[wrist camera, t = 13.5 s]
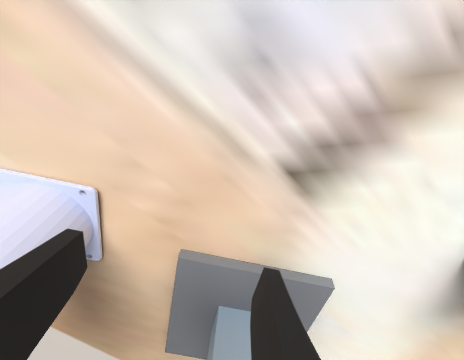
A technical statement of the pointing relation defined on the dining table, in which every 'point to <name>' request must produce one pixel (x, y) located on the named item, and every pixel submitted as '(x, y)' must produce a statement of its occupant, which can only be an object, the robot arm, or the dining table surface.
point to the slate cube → (230, 335)
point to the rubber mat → (228, 297)
